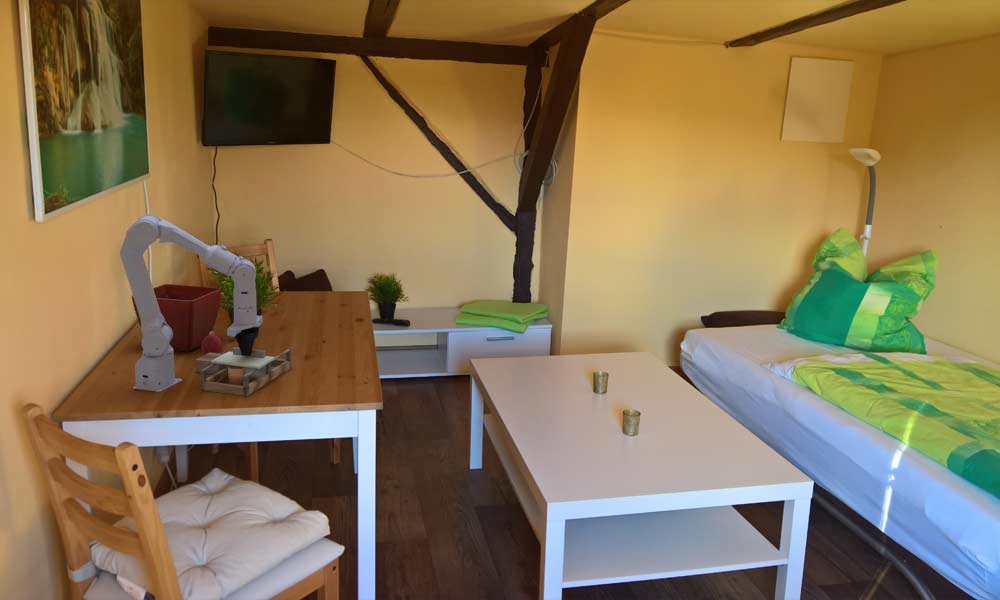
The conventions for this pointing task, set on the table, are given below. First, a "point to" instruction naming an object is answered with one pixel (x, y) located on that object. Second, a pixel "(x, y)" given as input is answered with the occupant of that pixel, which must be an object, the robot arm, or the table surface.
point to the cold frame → (245, 377)
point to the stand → (208, 363)
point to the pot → (236, 375)
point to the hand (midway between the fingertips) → (246, 355)
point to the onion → (211, 344)
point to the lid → (244, 359)
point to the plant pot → (187, 312)
